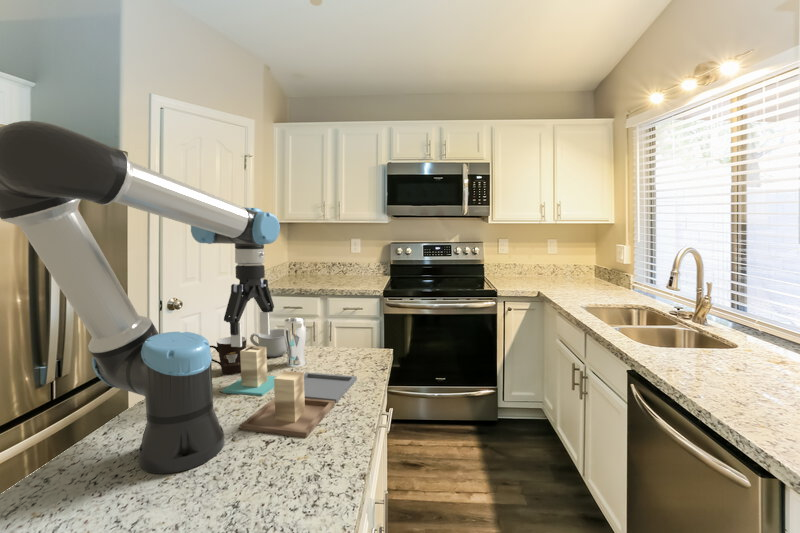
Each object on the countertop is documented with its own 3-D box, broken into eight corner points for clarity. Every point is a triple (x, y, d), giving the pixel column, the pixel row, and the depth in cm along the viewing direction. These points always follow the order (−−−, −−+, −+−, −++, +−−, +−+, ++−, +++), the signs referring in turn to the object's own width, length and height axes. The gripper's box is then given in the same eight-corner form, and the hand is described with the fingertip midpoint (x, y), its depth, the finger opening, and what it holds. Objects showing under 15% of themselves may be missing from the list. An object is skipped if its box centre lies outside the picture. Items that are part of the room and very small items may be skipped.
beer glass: (281, 367, 129) (279, 321, 127) (291, 360, 135) (290, 316, 134) (300, 368, 127) (299, 322, 126) (310, 361, 134) (309, 317, 132)
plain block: (295, 422, 92) (293, 380, 91) (275, 420, 93) (273, 378, 92) (304, 412, 97) (303, 372, 96) (286, 410, 98) (284, 371, 97)
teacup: (296, 351, 145) (295, 329, 145) (279, 360, 135) (278, 337, 134) (262, 348, 149) (261, 327, 148) (244, 357, 139) (243, 334, 138)
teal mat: (262, 396, 106) (262, 393, 106) (222, 392, 109) (222, 389, 109) (284, 379, 118) (284, 377, 118) (248, 376, 121) (248, 373, 121)
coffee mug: (252, 366, 129) (251, 336, 128) (239, 376, 121) (238, 344, 120) (218, 365, 130) (217, 335, 129) (203, 375, 122) (201, 343, 121)
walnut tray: (306, 438, 85) (306, 432, 85) (240, 430, 89) (239, 424, 89) (334, 405, 101) (334, 401, 101) (277, 399, 104) (277, 395, 104)
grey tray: (336, 403, 102) (336, 399, 102) (279, 398, 105) (279, 393, 105) (356, 380, 117) (356, 376, 117) (306, 376, 121) (306, 372, 121)
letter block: (257, 387, 110) (256, 351, 109) (241, 385, 111) (240, 350, 110) (267, 380, 115) (266, 346, 114) (252, 379, 116) (250, 345, 115)
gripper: (233, 268, 97) (235, 353, 99) (285, 261, 121) (286, 330, 123) (207, 267, 99) (209, 351, 100) (262, 261, 123) (264, 329, 125)
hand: (251, 340), depth 112 cm, fingers open, 13 cm apart
